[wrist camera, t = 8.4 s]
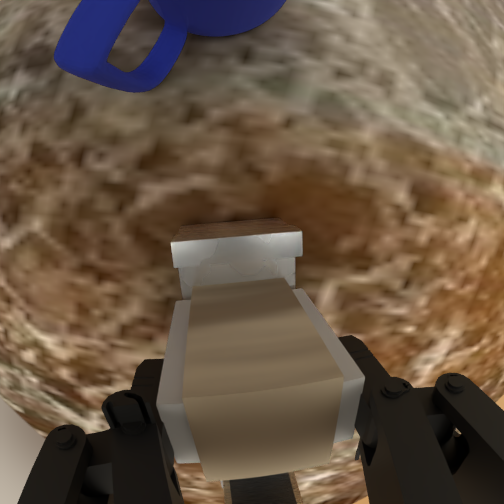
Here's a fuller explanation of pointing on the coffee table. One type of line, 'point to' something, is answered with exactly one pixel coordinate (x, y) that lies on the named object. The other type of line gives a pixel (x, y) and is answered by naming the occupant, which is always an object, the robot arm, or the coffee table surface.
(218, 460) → the tan cardboard carton
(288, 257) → the rail
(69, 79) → the coffee table surface
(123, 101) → the coffee table surface
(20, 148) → the coffee table surface
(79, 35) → the mug
